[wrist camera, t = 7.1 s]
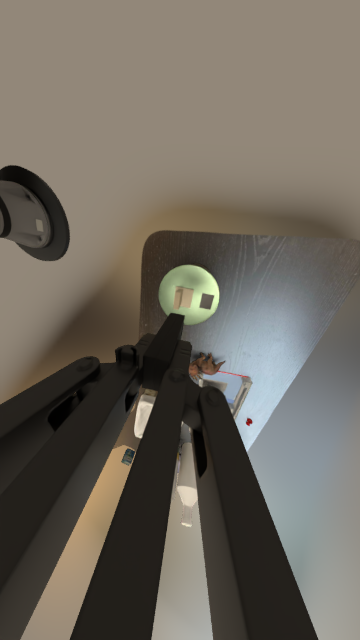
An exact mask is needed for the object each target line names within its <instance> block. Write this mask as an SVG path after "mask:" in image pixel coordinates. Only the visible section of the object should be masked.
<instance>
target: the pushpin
mask: <svg viewBox="0 0 360 640" xmlns="http://www.w3.org/2000/svg"><path fill="white" fill-rule="evenodd" d="M247 421H248V422H246V424H247V425H248V426H250V424H252V420H251V419H247Z"/></svg>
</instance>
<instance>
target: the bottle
mask: <svg viewBox="0 0 360 640" xmlns="http://www.w3.org/2000/svg"><path fill="white" fill-rule="evenodd" d="M177 490H178V492H179V495H180V498H181V500H182V503H183V515H182V520H181V524H182V525H185V526H188V527H192V520H191V518H192V507H193V506H194V504H195V503H196V501H197V500H198V496H197V487H196V478H195V469H194V460H193V451H192V443H184V444H183V445H182V451H181V459H180V466H179V474H178V482H177Z"/></svg>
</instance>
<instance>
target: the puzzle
mask: <svg viewBox="0 0 360 640" xmlns="http://www.w3.org/2000/svg"><path fill="white" fill-rule="evenodd" d="M134 454H135V451H133V450H131V449H127V450H126V452H125V454H124V456H123V459H122V463H124V464H126V465H129V464H131V462H132V459H133V457H134Z"/></svg>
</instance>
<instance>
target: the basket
mask: <svg viewBox="0 0 360 640" xmlns="http://www.w3.org/2000/svg"><path fill="white" fill-rule="evenodd" d="M157 393H158V392H157V391H154V390H150V389H146V390H145V392H144V394H142V395H141V398H140V401H139V403H138V408H137V413H136V420H135V428H134V431H135V436H136V437H139V438H142V435H143V432H144V430H145V427H146V424H147V421H148V418H149V416H150V413H151V410H152V407H153V404H154V401H155V399H156V396H157ZM182 424H183V421H182ZM181 427H182V426H181Z"/></svg>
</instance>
